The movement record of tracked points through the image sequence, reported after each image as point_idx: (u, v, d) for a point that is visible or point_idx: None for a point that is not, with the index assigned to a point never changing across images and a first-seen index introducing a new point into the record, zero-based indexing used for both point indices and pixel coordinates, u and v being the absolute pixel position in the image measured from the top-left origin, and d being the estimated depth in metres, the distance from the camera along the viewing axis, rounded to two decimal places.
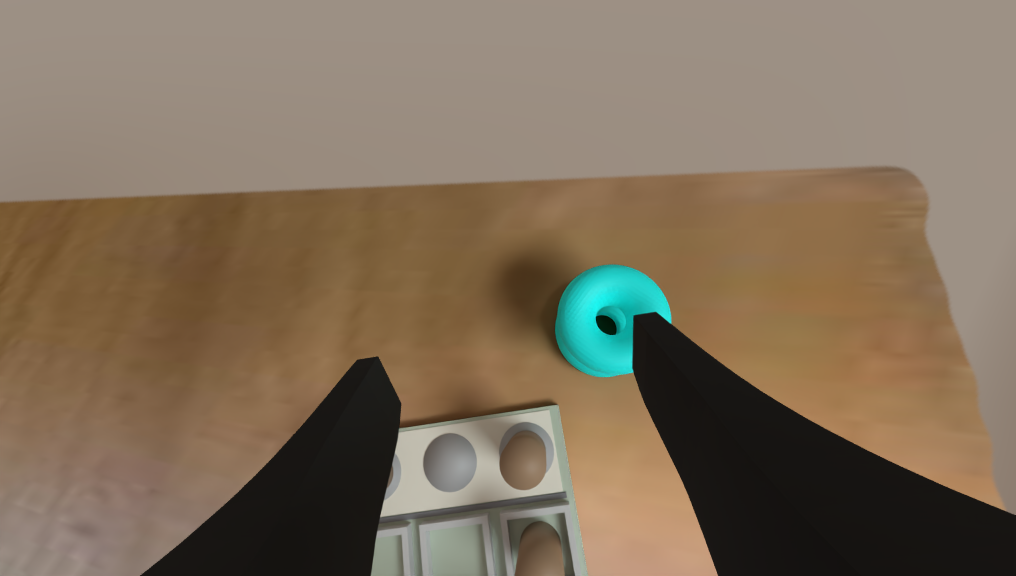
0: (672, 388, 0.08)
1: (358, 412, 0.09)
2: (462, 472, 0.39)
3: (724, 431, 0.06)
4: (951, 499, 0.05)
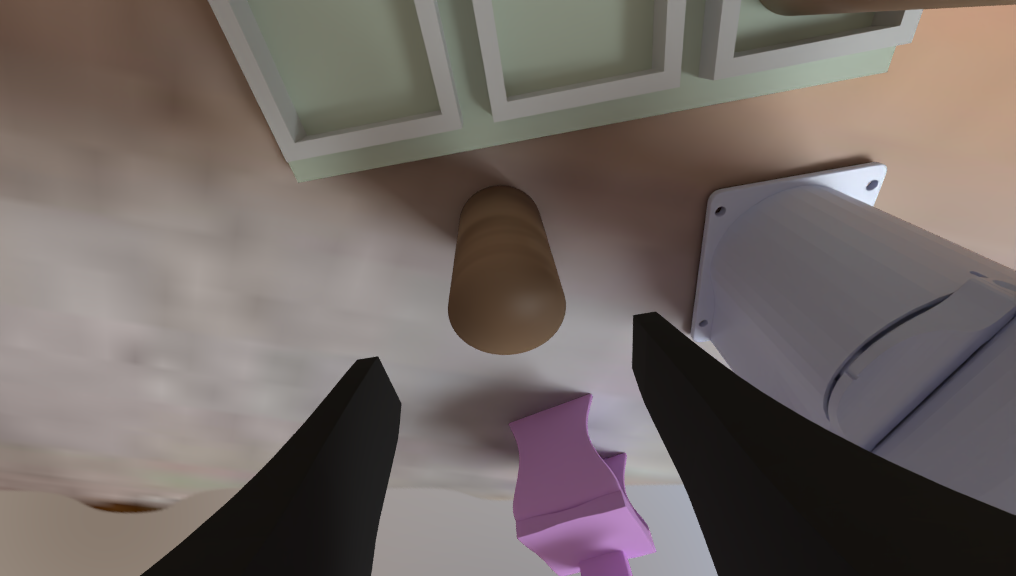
0: (672, 388, 0.08)
1: (357, 412, 0.09)
2: None
3: (724, 431, 0.06)
4: (951, 499, 0.05)
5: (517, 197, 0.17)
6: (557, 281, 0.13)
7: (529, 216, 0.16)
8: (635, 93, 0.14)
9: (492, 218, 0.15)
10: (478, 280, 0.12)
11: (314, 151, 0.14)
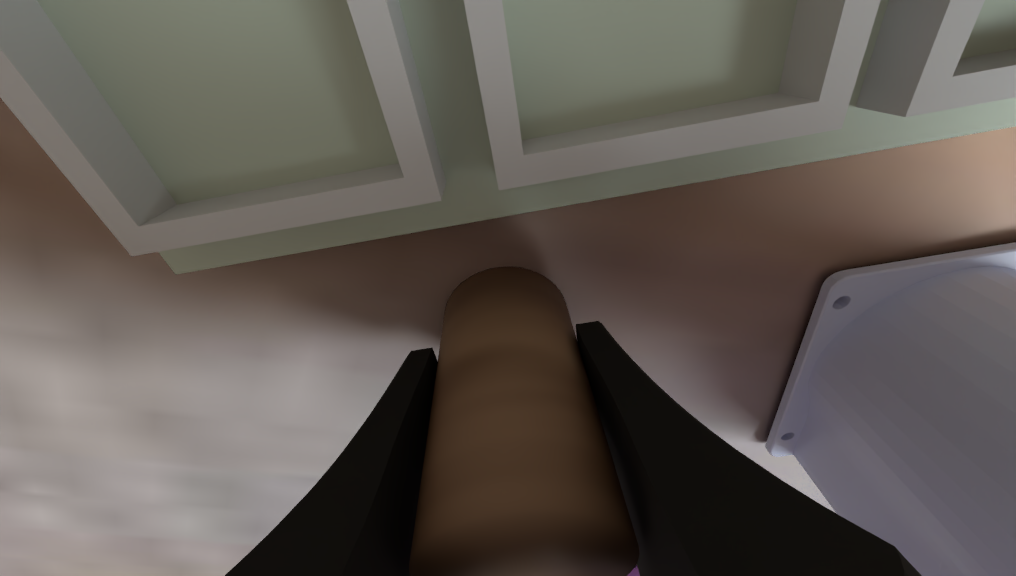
0: (602, 399, 0.08)
1: (421, 403, 0.09)
2: None
3: (632, 444, 0.07)
4: (820, 516, 0.05)
5: (535, 291, 0.11)
6: (627, 526, 0.06)
7: (557, 337, 0.09)
8: (759, 140, 0.07)
9: (495, 353, 0.08)
10: (468, 536, 0.06)
11: (178, 239, 0.08)
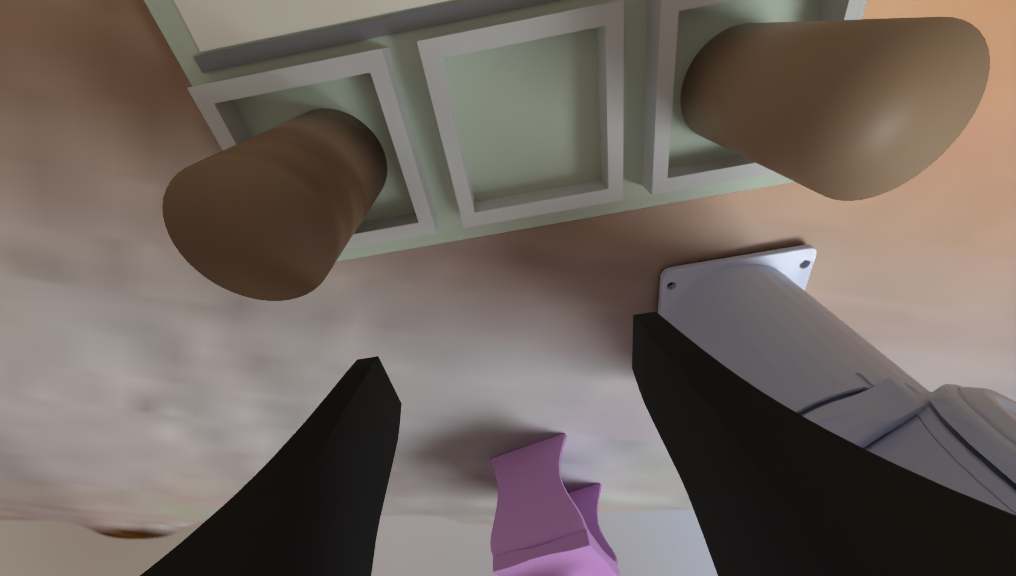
0: (672, 388, 0.08)
1: (357, 412, 0.09)
2: None
3: (724, 431, 0.06)
4: (951, 499, 0.05)
5: (335, 118, 0.14)
6: (304, 193, 0.09)
7: (330, 133, 0.12)
8: (585, 205, 0.16)
9: (268, 130, 0.12)
10: (191, 191, 0.09)
11: None
